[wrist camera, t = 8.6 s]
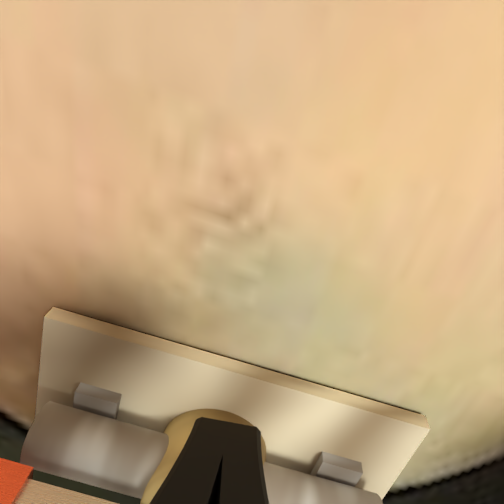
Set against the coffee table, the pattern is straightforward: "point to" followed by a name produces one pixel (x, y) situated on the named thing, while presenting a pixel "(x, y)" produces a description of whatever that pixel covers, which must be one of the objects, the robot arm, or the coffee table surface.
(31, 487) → the valve lever
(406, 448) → the valve fixture
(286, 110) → the coffee table surface
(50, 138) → the coffee table surface
